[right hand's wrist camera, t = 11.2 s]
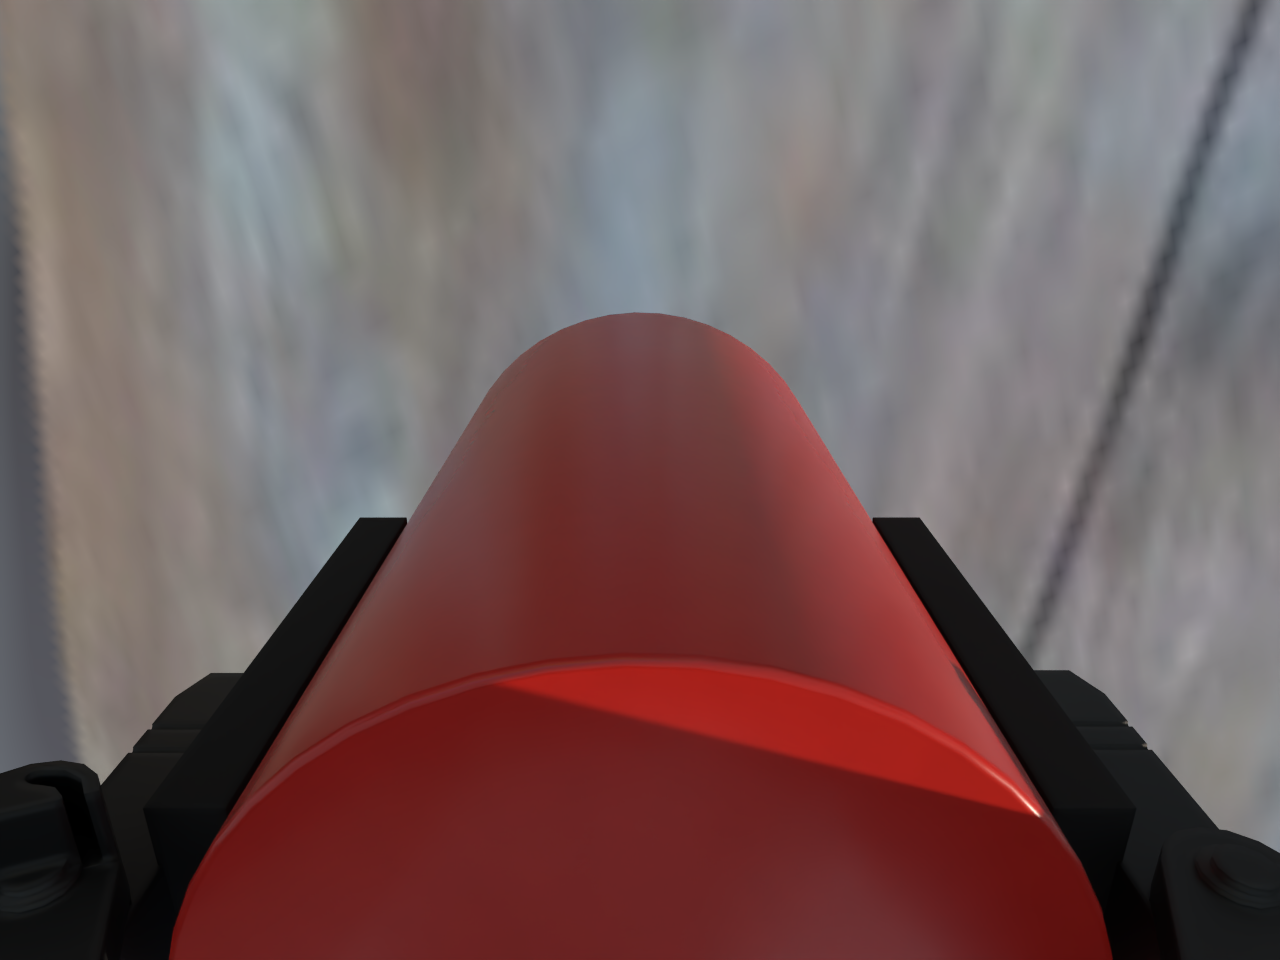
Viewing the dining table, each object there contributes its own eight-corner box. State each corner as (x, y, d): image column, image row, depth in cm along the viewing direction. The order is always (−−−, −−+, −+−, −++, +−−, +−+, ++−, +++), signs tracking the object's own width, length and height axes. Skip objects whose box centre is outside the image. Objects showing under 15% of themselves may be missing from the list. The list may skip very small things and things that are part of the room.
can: (408, 373, 17) (-35, 810, 6) (770, 263, 17) (1059, 528, 5) (531, 675, 20) (387, 1381, 9) (849, 594, 19) (1156, 1250, 8)
